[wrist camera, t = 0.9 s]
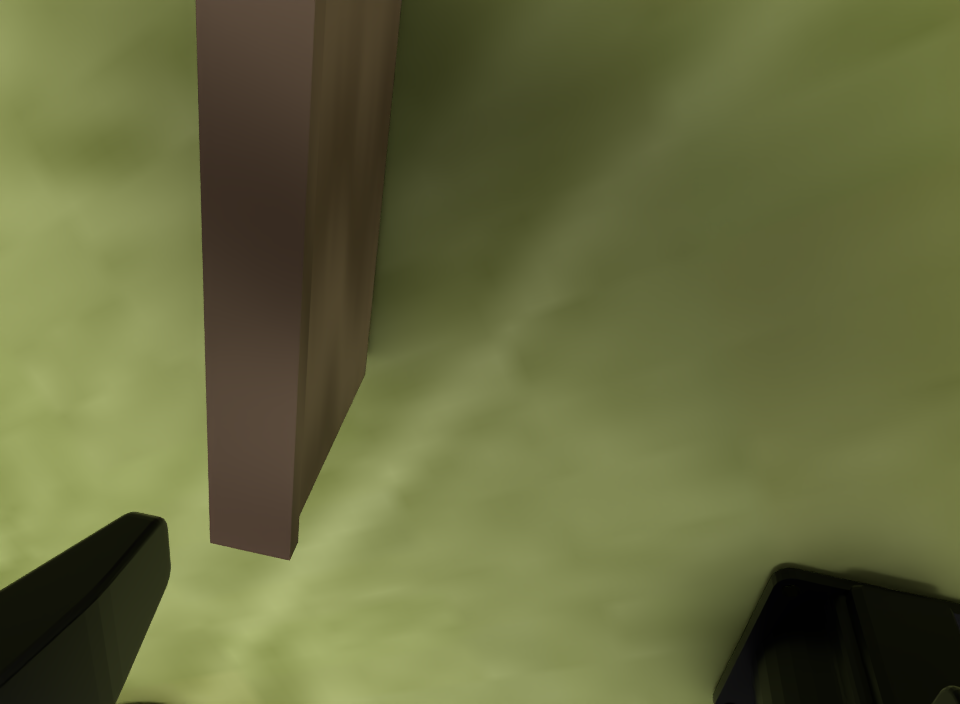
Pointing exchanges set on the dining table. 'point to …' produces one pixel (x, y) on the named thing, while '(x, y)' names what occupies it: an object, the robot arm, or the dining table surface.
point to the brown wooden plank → (286, 243)
